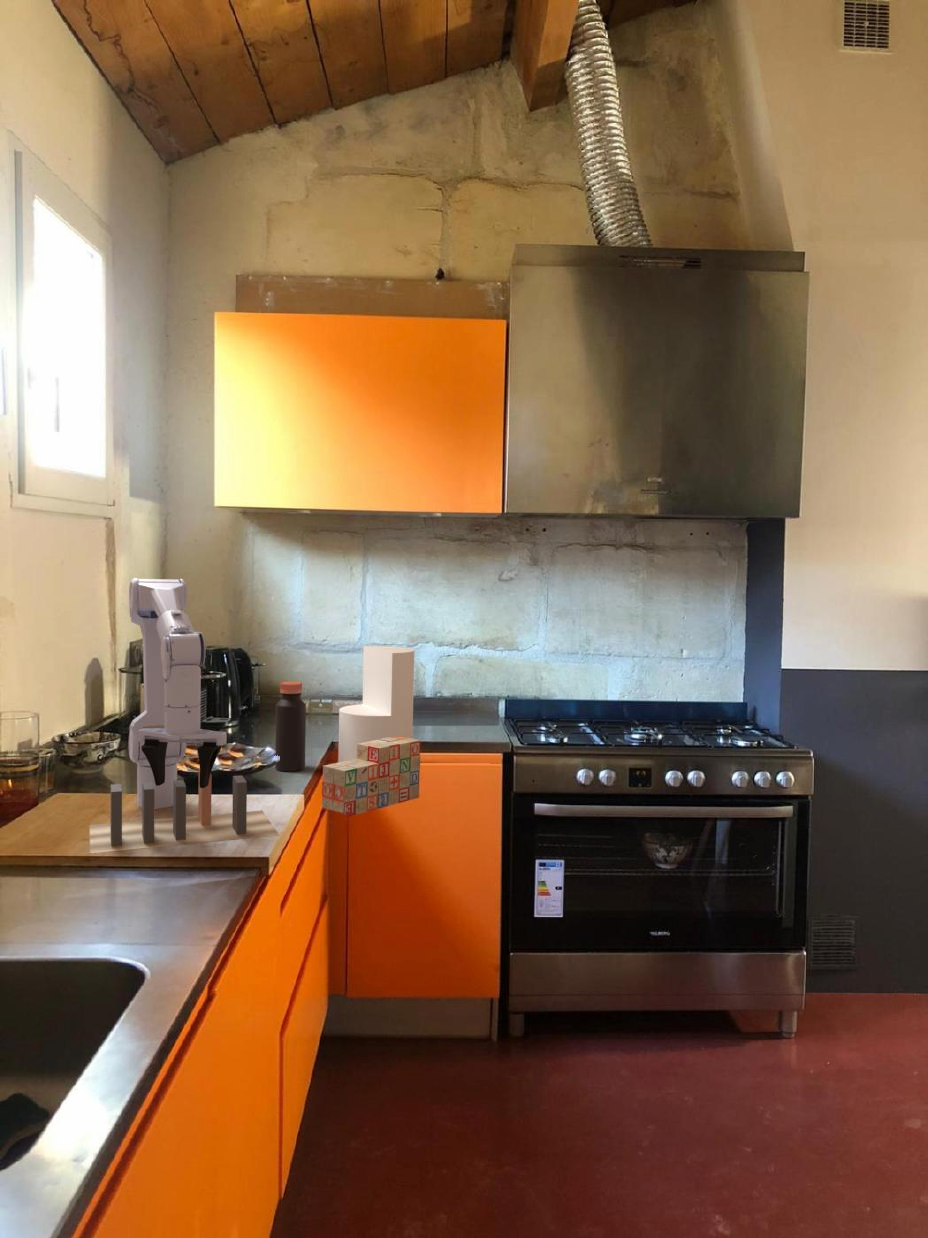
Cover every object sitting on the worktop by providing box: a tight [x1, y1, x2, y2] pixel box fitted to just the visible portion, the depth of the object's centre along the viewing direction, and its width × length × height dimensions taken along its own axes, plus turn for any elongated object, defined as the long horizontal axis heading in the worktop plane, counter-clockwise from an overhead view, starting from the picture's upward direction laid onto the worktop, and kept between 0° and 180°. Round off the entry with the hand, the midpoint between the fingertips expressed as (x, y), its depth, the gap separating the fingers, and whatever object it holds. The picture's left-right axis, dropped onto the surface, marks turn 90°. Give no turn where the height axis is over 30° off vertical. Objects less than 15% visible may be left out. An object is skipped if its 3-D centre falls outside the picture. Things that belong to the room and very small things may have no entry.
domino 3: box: [172, 779, 187, 840], centre depth 150 cm, size 2×5×9 cm, turn 24°
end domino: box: [232, 775, 248, 835], centre depth 153 cm, size 2×5×9 cm, turn 23°
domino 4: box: [197, 768, 212, 826], centre depth 158 cm, size 2×5×9 cm, turn 23°
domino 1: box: [110, 783, 123, 847], centre depth 146 cm, size 2×5×9 cm, turn 23°
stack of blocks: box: [321, 736, 421, 818], centre depth 175 cm, size 21×6×12 cm, turn 141°
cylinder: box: [337, 645, 415, 763], centre depth 206 cm, size 17×17×28 cm
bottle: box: [274, 681, 307, 773], centre depth 204 cm, size 7×7×20 cm
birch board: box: [89, 809, 280, 855], centre depth 153 cm, size 16×30×1 cm, turn 113°
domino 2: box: [141, 782, 155, 843], centre depth 148 cm, size 2×5×9 cm, turn 23°
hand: (182, 785), depth 148 cm, fingers open, 7 cm apart
